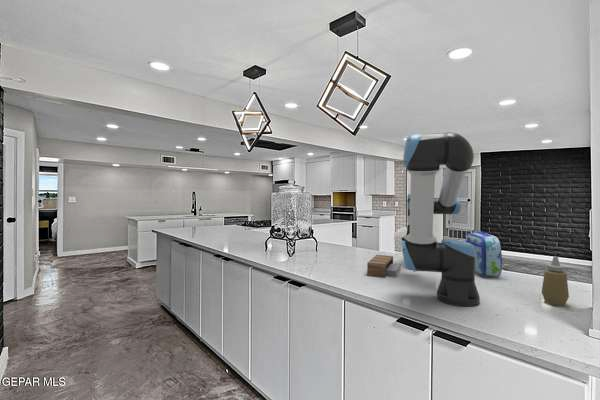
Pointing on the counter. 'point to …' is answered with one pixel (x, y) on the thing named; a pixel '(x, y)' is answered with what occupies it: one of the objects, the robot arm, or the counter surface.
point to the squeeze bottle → (555, 284)
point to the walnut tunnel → (378, 265)
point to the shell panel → (393, 270)
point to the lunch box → (486, 253)
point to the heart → (401, 237)
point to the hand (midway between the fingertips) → (414, 270)
